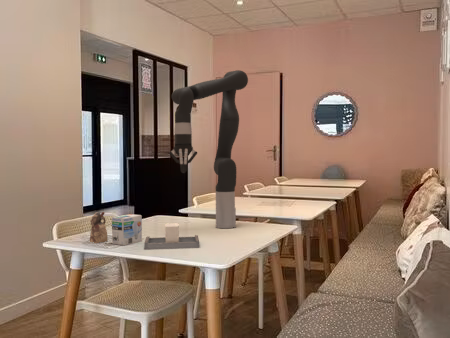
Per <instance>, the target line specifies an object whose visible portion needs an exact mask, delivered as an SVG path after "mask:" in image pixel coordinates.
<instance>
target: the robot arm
mask: <svg viewBox="0 0 450 338" xmlns="http://www.w3.org/2000/svg"><path fill="white" fill-rule="evenodd" d="M248 83H249V78H248V75H247V73H246V72H244V71H243V70H238V69H237V70H232V71H231V70H230V71H228V72H226V73H225V74H224V75H223V77H220V78H215V79H211V80H205V81H202V82H198V83H196V84H193V85H190V86H185V87H181V88H177V89H175V90H173V92H172V94H171V99H172V102H173V103H174V104H176V105H178V108H177V110H176V111H175V112H174V129H173V130H174V146H173V148H172V150H171V151H169V153H168V154H169V156H170V157H172V159H173V160H174V162H175V163H176V164H179V165H180V168H179V169H180V172H181V174H186V172H187V171H188V168H187V167H188V166H187V165H188V164H190V163H191V162H192V161H193V160H194V159H195V158H196V156H197V155H198V152H197V151H196V150H194V147H193V143H192V140H193V139H192V138H193V136H192V134H193V132H192V130H193V129H192V122H191V121H192V111H193V106H194V101H196V100H198V101H199V100H202V99H205V98H208V97H212V96H214V95H217V94H221V93H222V97H221V98H222V99H221V111H220V118H219V127H218V128H219V129H218V140H217V149H216V152H215V153H216V154H215V157H214V162H213V171H214V173H215V174H216V175H217V183H216V185H215V228H218V229H232V228H233V227H234V228H236V227H237V224H236V221H237V215H236V212H237V211H236V208H237V207H236V199H235V198H236V193H235V192H236V185H237V165H236V164H237V163H236V162H235V161H234V159H232V149H233V146H234V143H235V141H236V138H237V135H238V133H239V126H240V114H239V111H238V108H237V105H236V95H237V94H236V93H237V91H241V90H243V89H245V88H246V87H247V86H248ZM175 154H176V155H177V156H178V157H179V159H178V158H177V157H176V155H175ZM190 154H191V157H190V158H189V159H188V157H189V155H190ZM183 157H184V158H183Z"/></svg>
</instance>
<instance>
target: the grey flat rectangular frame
mask: <svg viewBox="0 0 450 338" xmlns="http://www.w3.org/2000/svg"><path fill="white" fill-rule="evenodd" d="M143 246H144V250H164V249H165V250H169V249H195V248H196V249H199V248H200V238H199V235H198V234H195V235H193V236H179V242H174V243H166V238H165V236H164V237H150V236H146V237H145V240H144V242H143Z"/></svg>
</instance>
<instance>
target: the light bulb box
mask: <svg viewBox="0 0 450 338" xmlns="http://www.w3.org/2000/svg"><path fill="white" fill-rule="evenodd" d="M142 217H143V216H142V215H141V214H133V213H129V214H128V213H127V214H124V215H118V216H112V217H111V239H112V241H111V242H112V245H113V244H114V245H119V246H127V245H128V246H129V245H131V244H135V243H139V242H140V243H141V242H142V241H143V230H142V229H143V228H142V227H143V222H142V221H143V218H142Z"/></svg>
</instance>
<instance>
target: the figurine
mask: <svg viewBox="0 0 450 338" xmlns="http://www.w3.org/2000/svg"><path fill="white" fill-rule="evenodd" d="M105 214H106V212H104V211H102V212H101V213H100V212H99V211H98V212H95V213H94V214H93V215H92V217H91V220H90V221H89V222H90V226H91V229H90V236H89V241H90V242H94V243H93V244H100V243H99V242H103V243H106V242H107V241H108V231H107V227H106V225H105V224H106V220H107V219H106V217H104V215H105ZM102 220H103V222H102ZM105 241H106V242H105ZM90 242H89V243H90Z"/></svg>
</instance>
